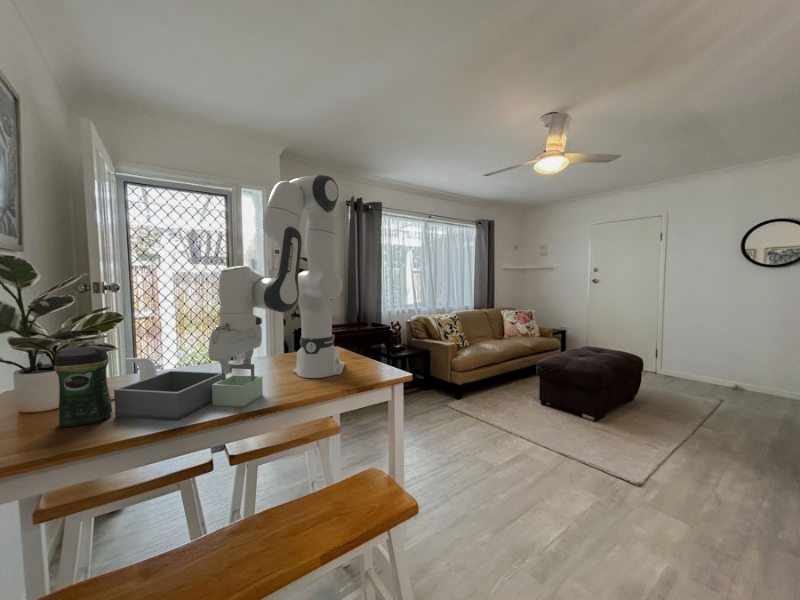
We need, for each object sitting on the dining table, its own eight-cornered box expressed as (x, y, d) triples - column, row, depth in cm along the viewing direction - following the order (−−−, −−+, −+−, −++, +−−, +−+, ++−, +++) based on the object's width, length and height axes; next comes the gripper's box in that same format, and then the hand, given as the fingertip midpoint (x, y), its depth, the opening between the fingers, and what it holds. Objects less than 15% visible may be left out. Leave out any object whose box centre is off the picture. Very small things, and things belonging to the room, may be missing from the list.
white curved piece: (127, 398, 98) (125, 358, 98) (142, 391, 105) (141, 354, 104) (142, 398, 99) (141, 358, 98) (157, 391, 105) (155, 354, 104)
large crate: (171, 392, 104) (170, 370, 103) (224, 395, 101) (224, 373, 101) (115, 416, 86) (114, 389, 85) (178, 420, 84) (177, 393, 83)
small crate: (233, 393, 103) (232, 359, 102) (262, 395, 102) (262, 360, 101) (212, 405, 94) (211, 367, 93) (244, 407, 92) (243, 369, 92)
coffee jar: (115, 411, 89) (112, 342, 88) (105, 422, 82) (101, 348, 81) (67, 417, 85) (63, 345, 84) (52, 430, 78) (47, 352, 77)
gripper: (223, 327, 85) (225, 380, 86) (265, 318, 106) (266, 360, 107) (201, 326, 86) (202, 379, 87) (246, 317, 107) (247, 360, 107)
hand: (237, 368), depth 97 cm, fingers open, 8 cm apart
